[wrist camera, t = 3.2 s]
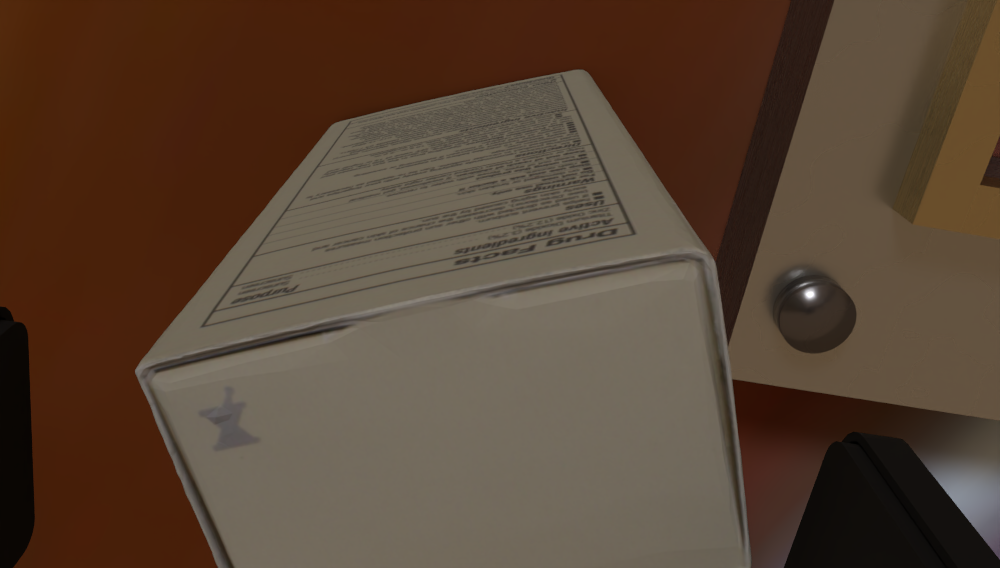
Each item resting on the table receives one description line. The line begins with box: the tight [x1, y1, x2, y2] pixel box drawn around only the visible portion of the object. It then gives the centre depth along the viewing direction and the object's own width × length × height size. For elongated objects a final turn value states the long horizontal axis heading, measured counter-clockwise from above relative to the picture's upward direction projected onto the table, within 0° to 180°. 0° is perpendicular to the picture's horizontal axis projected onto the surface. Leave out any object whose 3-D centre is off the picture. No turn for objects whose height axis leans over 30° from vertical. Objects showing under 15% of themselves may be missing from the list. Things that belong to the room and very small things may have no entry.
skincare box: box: [135, 70, 752, 568], centre depth 15 cm, size 6×4×12 cm
